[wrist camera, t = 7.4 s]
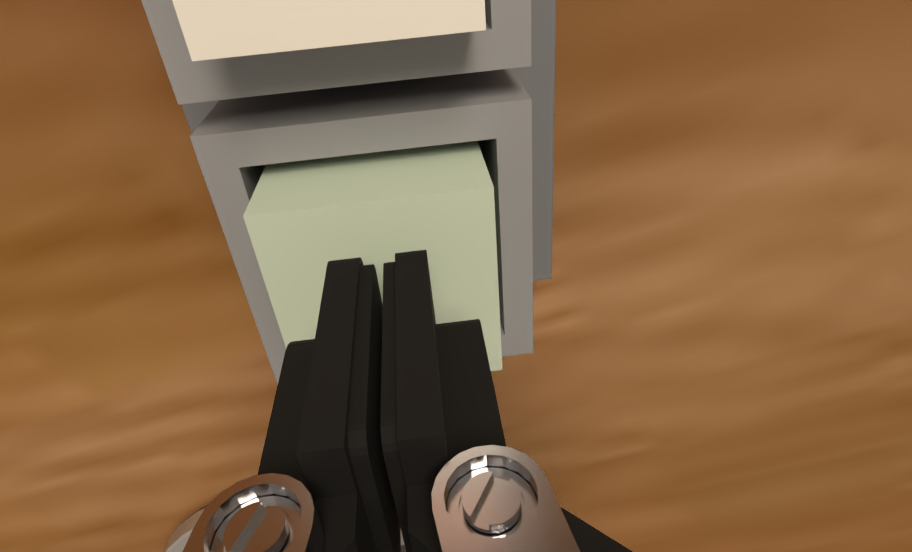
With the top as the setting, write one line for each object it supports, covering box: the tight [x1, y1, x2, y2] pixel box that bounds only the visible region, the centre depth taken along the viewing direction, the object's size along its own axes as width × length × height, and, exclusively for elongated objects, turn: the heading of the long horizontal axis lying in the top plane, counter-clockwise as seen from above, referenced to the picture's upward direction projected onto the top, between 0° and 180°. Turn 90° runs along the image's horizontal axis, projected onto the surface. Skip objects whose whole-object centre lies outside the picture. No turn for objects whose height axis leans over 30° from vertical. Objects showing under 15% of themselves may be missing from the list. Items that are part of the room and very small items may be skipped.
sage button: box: [243, 141, 502, 371], centre depth 13 cm, size 4×4×3 cm
